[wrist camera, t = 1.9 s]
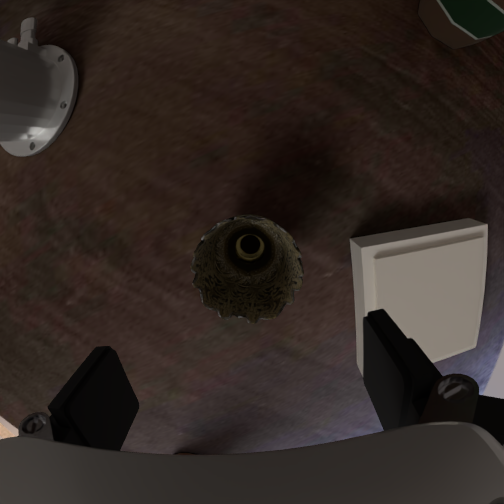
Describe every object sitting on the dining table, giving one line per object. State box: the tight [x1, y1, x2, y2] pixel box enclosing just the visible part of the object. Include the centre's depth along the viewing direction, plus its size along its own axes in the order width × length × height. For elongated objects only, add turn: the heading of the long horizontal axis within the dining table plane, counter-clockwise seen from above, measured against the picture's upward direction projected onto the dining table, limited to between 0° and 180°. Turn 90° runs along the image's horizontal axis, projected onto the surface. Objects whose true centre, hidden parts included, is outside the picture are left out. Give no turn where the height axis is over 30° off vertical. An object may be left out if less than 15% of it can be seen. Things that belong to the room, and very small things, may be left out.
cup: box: [191, 214, 304, 324], centre depth 24 cm, size 7×7×8 cm
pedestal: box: [350, 218, 488, 376], centre depth 27 cm, size 14×14×4 cm
